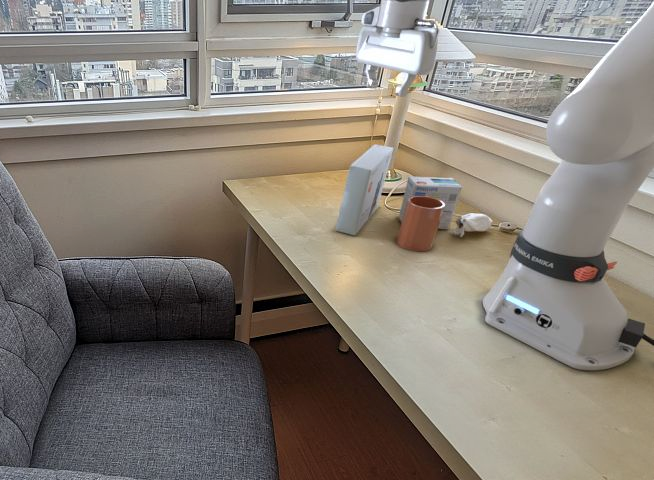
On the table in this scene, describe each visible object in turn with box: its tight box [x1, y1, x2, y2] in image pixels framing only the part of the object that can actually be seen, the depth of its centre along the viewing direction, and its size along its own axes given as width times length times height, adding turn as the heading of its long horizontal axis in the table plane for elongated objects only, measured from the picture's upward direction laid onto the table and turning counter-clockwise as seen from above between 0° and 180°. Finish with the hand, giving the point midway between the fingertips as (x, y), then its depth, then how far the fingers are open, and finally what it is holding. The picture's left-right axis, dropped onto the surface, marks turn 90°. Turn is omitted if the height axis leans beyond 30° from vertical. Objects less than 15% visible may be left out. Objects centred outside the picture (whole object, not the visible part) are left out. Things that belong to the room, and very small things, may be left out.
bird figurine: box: [450, 212, 495, 239], centre depth 111 cm, size 5×7×10 cm
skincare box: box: [335, 143, 395, 236], centre depth 115 cm, size 21×5×16 cm, turn 148°
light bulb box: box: [398, 175, 463, 230], centre depth 114 cm, size 11×7×11 cm, turn 84°
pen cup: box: [396, 196, 445, 252], centre depth 105 cm, size 7×7×10 cm
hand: (385, 91), depth 103 cm, fingers open, 8 cm apart
